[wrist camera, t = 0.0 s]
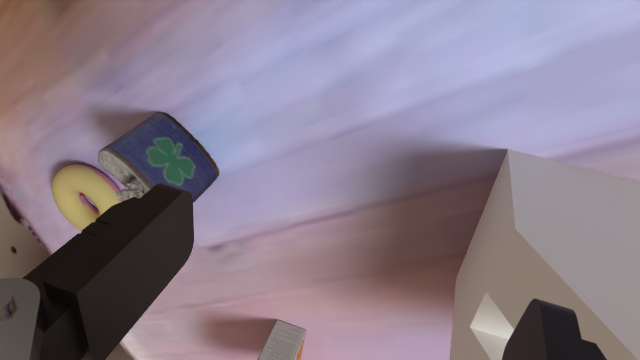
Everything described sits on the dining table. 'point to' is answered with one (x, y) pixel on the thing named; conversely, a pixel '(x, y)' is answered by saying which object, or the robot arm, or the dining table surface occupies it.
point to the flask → (159, 159)
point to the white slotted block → (552, 257)
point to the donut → (82, 181)
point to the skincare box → (283, 343)
